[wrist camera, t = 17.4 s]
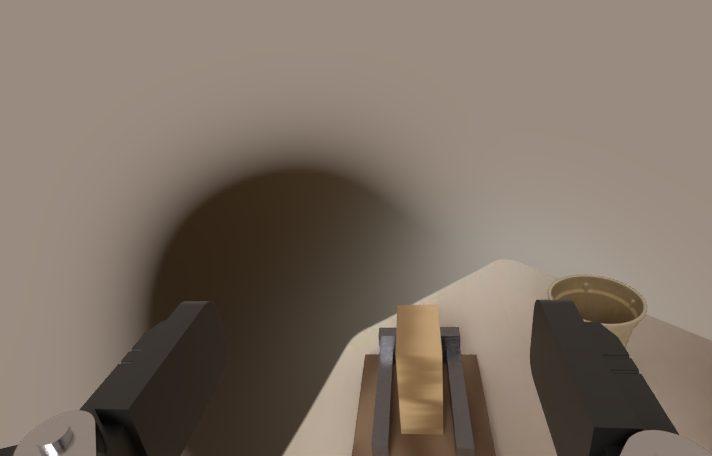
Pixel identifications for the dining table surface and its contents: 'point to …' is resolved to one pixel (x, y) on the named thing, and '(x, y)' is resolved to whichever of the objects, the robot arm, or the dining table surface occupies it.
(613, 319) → the flower pot
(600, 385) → the robot arm
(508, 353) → the dining table surface
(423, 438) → the cradle
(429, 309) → the oak plank
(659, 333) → the dining table surface
